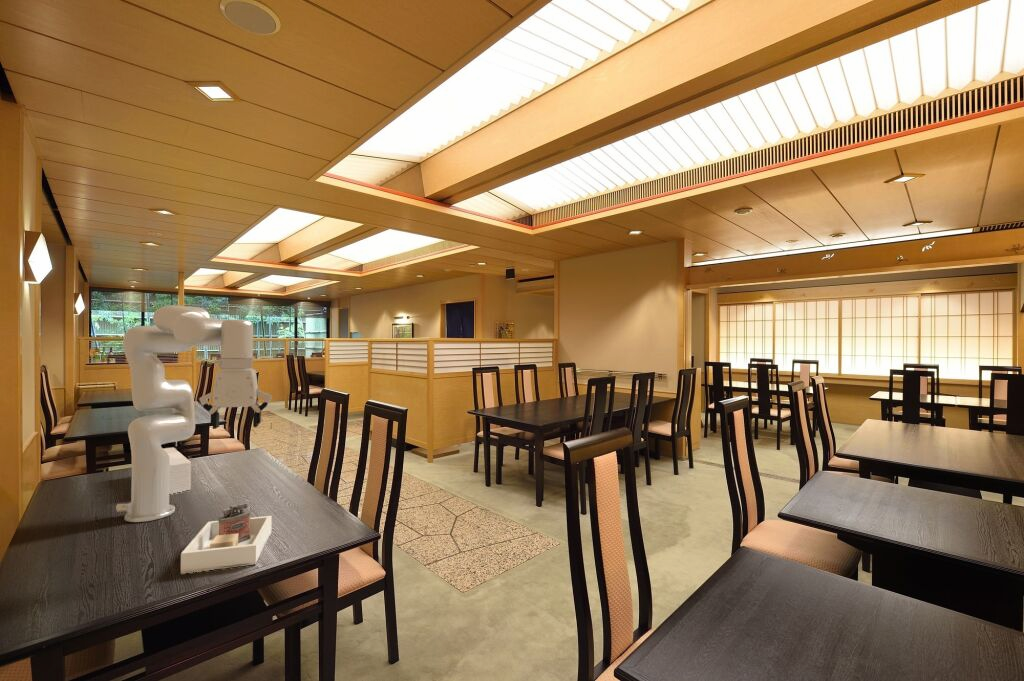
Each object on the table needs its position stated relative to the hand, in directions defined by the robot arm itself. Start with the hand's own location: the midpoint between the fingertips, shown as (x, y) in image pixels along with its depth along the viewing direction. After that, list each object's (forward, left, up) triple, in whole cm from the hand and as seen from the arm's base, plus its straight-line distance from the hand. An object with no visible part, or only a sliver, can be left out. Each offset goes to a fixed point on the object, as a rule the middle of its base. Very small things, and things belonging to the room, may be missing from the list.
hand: (236, 427), depth 125 cm
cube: (0, -9, -32) cm, 33 cm away
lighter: (0, 0, -32) cm, 32 cm away
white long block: (-40, +66, -33) cm, 84 cm away
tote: (0, -4, -32) cm, 33 cm away
